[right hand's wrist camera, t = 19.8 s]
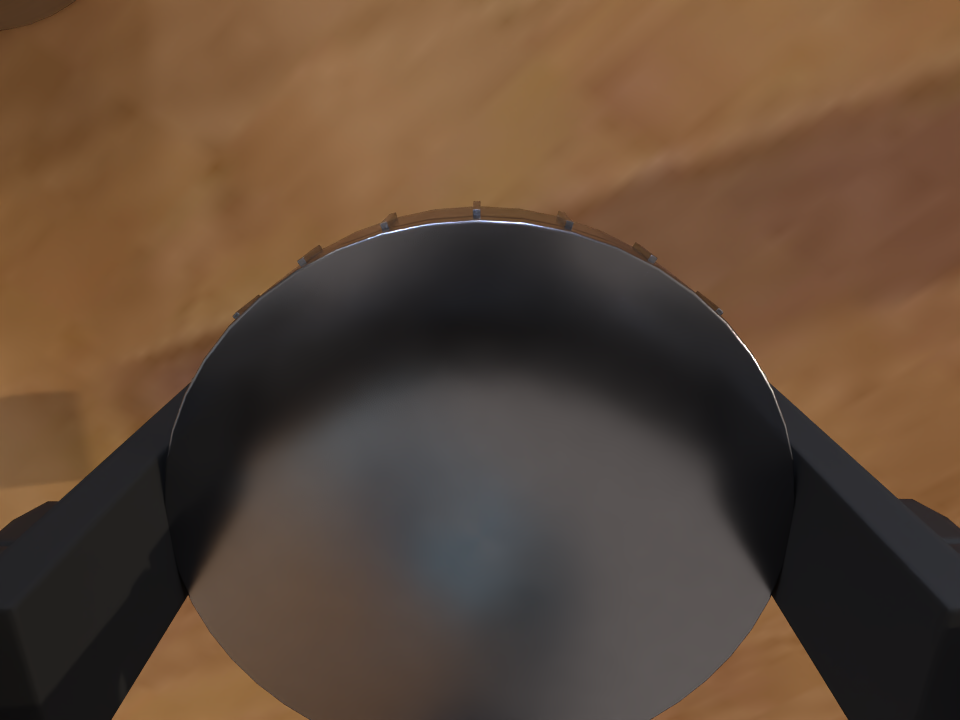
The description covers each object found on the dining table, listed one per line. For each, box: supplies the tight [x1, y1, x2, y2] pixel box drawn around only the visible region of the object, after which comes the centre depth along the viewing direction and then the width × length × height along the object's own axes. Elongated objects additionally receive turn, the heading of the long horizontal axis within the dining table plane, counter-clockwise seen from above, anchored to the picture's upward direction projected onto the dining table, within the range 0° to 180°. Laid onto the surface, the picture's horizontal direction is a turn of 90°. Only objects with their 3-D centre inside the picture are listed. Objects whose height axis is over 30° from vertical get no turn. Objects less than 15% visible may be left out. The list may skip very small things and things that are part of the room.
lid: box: [164, 201, 795, 720], centre depth 11 cm, size 10×10×2 cm
